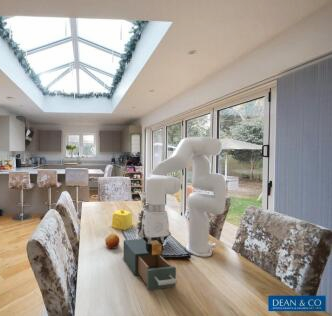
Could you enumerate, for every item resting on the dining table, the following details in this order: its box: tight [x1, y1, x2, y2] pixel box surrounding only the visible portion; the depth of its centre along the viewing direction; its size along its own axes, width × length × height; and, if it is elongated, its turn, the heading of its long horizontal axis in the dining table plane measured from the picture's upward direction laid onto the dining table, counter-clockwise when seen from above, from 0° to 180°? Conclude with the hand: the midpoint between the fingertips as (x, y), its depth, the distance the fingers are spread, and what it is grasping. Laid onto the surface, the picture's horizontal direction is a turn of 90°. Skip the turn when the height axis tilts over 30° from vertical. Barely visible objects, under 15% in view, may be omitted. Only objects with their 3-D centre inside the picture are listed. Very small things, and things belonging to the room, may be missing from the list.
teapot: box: [111, 209, 133, 231], centre depth 148 cm, size 20×12×12 cm, turn 150°
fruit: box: [104, 233, 120, 249], centre depth 115 cm, size 8×8×8 cm
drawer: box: [137, 254, 178, 291], centre depth 83 cm, size 18×11×7 cm, turn 12°
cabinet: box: [123, 238, 163, 276], centre depth 96 cm, size 15×13×9 cm
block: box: [151, 239, 162, 255], centre depth 84 cm, size 4×4×4 cm
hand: (154, 251), depth 84 cm, fingers closed on block, 4 cm apart
